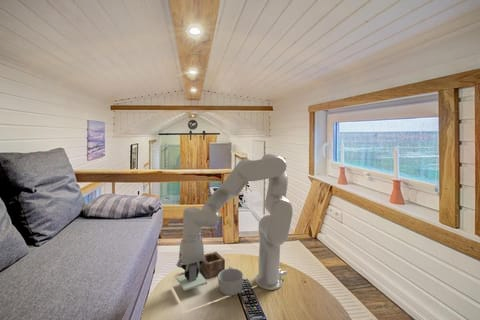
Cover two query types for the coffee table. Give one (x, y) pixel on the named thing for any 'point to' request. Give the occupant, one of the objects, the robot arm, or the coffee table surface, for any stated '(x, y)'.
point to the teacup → (230, 281)
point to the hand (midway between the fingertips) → (191, 276)
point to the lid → (191, 279)
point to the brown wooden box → (212, 265)
